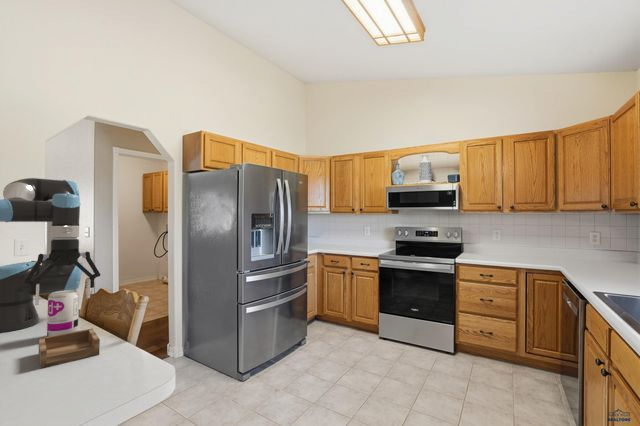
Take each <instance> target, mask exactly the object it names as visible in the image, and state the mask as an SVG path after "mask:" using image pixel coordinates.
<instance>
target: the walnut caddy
mask: <svg viewBox="0 0 640 426" xmlns="http://www.w3.org/2000/svg"><path fill="white" fill-rule="evenodd" d="M97 334H98V333H96V331H95V330H94V328H87V329H82V330H78V331H76V332H71V333H65V334H60V335H55V336H49V337H47V336H45V337H40V338H38V359H39V368H40V369H44V368H49V367H53V366H58V365H61V364H66V363H70V362H73V361H78V360H83V359H86V358H91V357H95V356H100V347H101V346H100V345H101V344H100V343H101V341H100V337H99V336H98V335H97Z"/></svg>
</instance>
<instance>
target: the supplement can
mask: <svg viewBox="0 0 640 426" xmlns="http://www.w3.org/2000/svg"><path fill="white" fill-rule="evenodd" d="M79 299H80V298H79V293H78V292H77V290H64V291H57V292H53V293H51V294H49V296H48V298H47V316H46V317H47V319H46V320H47V321H46V323H47V325H46V326H47V327H46V337H49V336H55V335H60V334H65V333H71V332H76V331H79V303H80V300H79Z"/></svg>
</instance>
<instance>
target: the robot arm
mask: <svg viewBox="0 0 640 426" xmlns="http://www.w3.org/2000/svg"><path fill="white" fill-rule="evenodd" d="M2 197H3V198H2V199H0V222H5V223H24V222H25V223H28V222H30V223H33V222H34V223H38V222H39V223H40V222H41V223H46V253H39V254H38V255H37V260H36V262H34V261H25V262H16V263H11V264H5V265H1V266H0V333H7V332H12V331H18V330H22V329H26V328H29V327H33V326H34V325H35V326H36V325H37V324H39V321H40V317H39V313H38V311H37V309H36V307H35V306H39V305H40V304H39V303H40V296H42V295H43V296H44V295H51V293H53V292H57V291H64V290H76V291H77V290H78V289H79V288H80V286H81V285H80V284H81V280H82V273H84V274H85V275H86V276H87V277H88V278H86V297H85V298H87V299H90V298H91V289H93V288H94V287H95V279H96V278H99V277H100V276H101V272H100V271H99V270H98V268H97V266H96V264H95V263H94V261H93V260H92V257H91V254H90V253H91V252H90V251H88V250H87V251H84V252H80V239H78V238H79V237H80V213H81V212H80V211H81V210H80V209H81V198H80V190H79V187H78V184H77V182H75V181H73V180H67V179H62V180H61V179H48V178H37V177H36V178H35V177H29V178H22V179H17V180H14V181H12V182H9V183H8V184H6V185H5V186H4V188H3V191H2ZM80 257H82V258H83V259H85V260H86V262H87V264H88V265H89V267H90V268H91V270H92V272H93V274H92V273H91V272H90V271H89V270H88V269H87V268H86V267H84V266H83V265H84V263H83V262H82V261H79V258H80ZM34 297H35V301H34ZM34 303H35V304H34Z"/></svg>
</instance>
